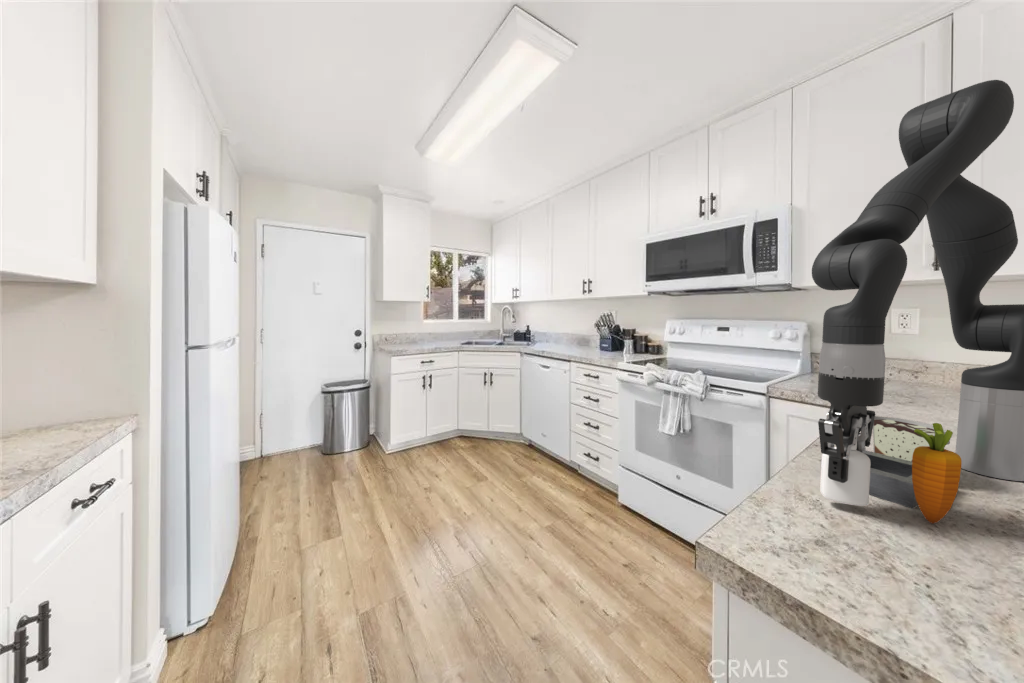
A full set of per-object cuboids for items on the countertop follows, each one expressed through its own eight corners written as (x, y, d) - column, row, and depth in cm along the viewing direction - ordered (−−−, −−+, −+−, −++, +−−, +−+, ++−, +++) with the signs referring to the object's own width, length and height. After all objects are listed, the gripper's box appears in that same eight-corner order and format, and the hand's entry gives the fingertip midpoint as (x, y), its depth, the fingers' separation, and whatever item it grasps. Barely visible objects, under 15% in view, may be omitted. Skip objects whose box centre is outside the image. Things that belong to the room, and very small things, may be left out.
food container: (969, 489, 64) (973, 434, 63) (934, 488, 64) (938, 434, 63) (896, 461, 76) (899, 415, 75) (866, 461, 76) (869, 415, 75)
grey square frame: (856, 467, 73) (858, 448, 73) (938, 490, 63) (940, 468, 63) (827, 481, 67) (828, 460, 66) (913, 508, 57) (915, 484, 57)
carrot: (944, 535, 50) (953, 431, 49) (898, 516, 55) (905, 421, 54) (966, 530, 51) (975, 428, 50) (919, 512, 56) (926, 419, 55)
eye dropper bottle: (825, 488, 61) (829, 420, 60) (871, 502, 56) (875, 428, 55) (816, 496, 58) (819, 425, 58) (863, 511, 54) (867, 434, 53)
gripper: (840, 365, 62) (835, 460, 64) (799, 372, 56) (794, 477, 57) (901, 371, 56) (894, 476, 57) (863, 379, 49) (856, 498, 50)
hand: (844, 476), depth 57 cm, fingers closed on eye dropper bottle, 4 cm apart
